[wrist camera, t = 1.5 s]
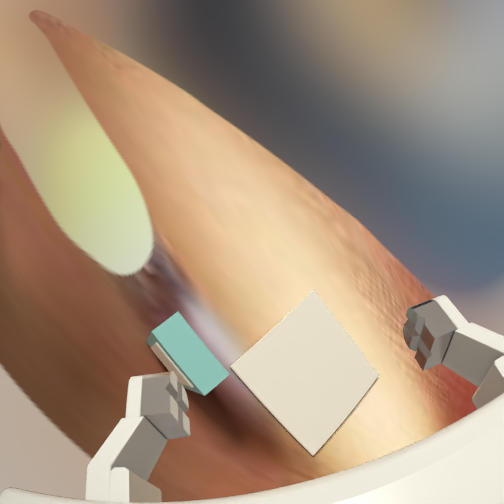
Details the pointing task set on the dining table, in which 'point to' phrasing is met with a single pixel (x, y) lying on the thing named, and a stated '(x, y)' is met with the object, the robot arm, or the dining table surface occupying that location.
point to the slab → (186, 355)
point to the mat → (307, 372)
